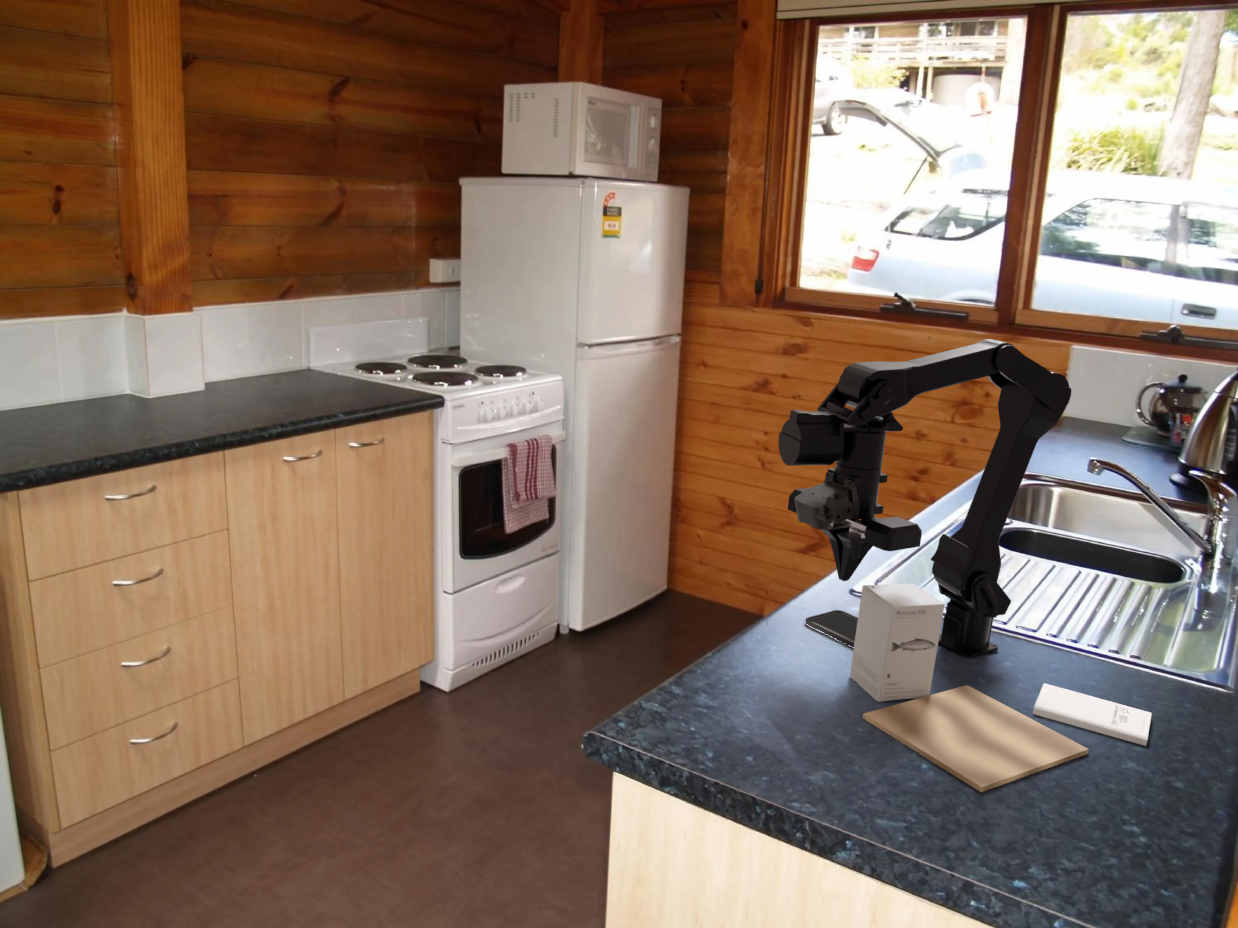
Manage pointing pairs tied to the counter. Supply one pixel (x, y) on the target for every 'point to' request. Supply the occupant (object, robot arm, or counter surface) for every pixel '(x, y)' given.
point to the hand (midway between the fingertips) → (843, 579)
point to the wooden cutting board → (975, 737)
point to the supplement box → (896, 641)
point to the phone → (836, 625)
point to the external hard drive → (1093, 714)
